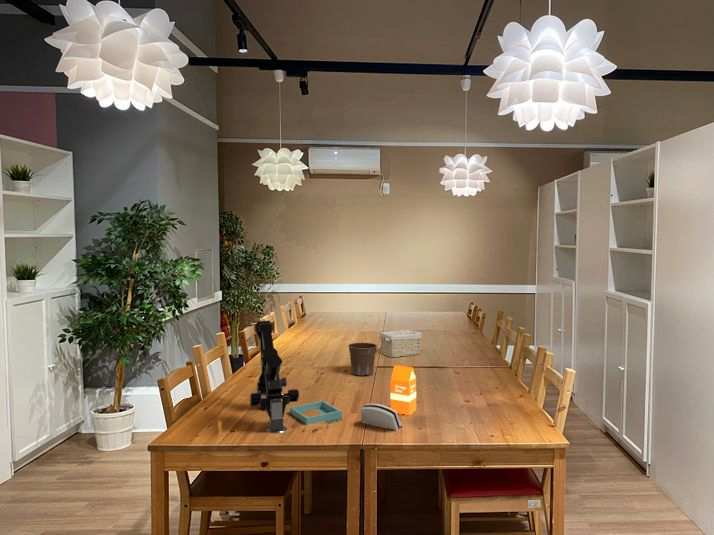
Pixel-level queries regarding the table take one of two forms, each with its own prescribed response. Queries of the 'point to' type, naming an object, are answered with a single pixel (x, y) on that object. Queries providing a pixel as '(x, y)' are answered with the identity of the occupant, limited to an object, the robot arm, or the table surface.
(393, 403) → the orange juice
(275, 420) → the strut
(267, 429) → the stud plate
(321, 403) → the bin
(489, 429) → the table surface
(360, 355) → the plant pot
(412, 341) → the storage basket
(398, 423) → the magnetic glass cleaner
